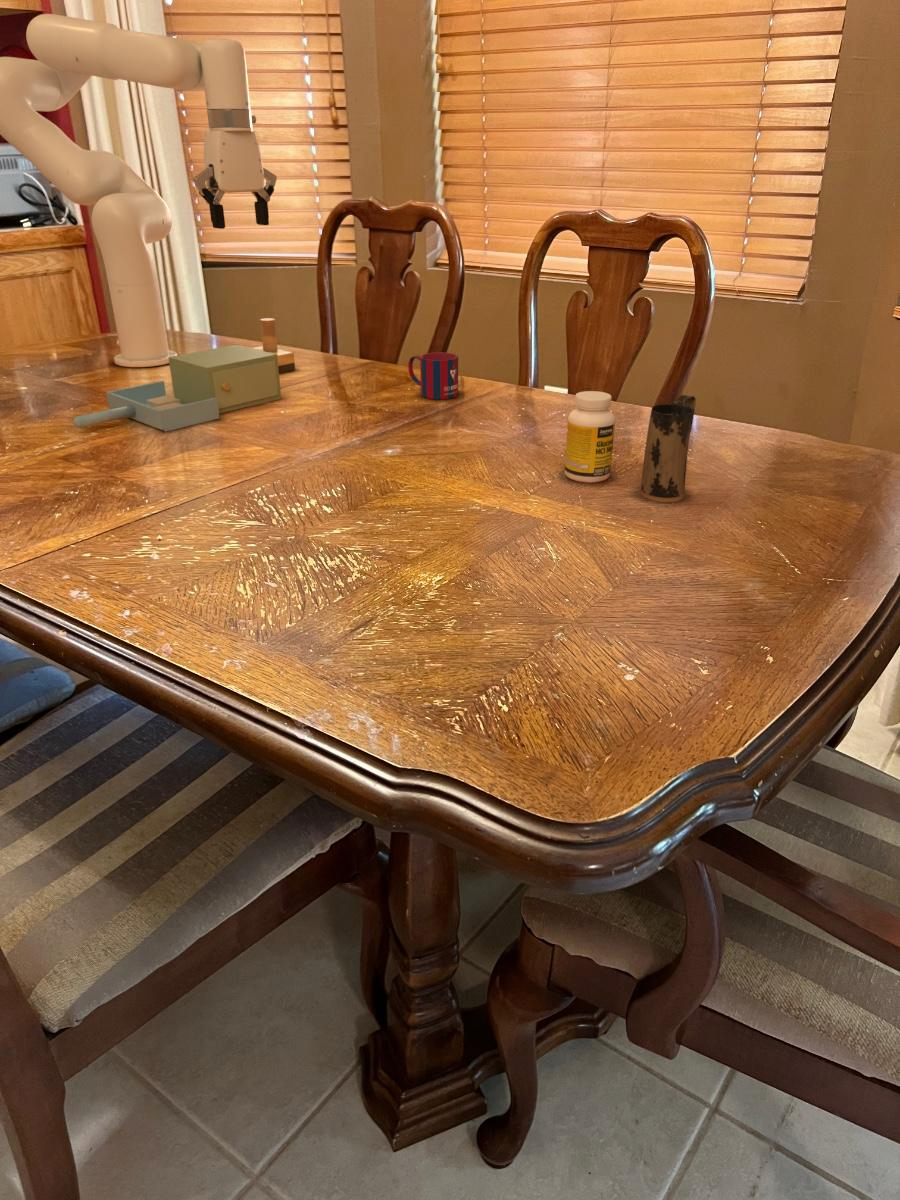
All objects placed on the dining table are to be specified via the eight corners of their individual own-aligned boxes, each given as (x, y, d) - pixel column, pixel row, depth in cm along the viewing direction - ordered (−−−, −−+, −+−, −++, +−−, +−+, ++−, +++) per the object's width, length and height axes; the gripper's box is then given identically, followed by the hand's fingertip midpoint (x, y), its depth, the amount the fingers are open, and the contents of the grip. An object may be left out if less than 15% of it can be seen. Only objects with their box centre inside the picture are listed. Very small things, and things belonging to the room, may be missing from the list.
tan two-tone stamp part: (249, 365, 175) (243, 317, 170) (265, 362, 178) (260, 314, 173) (279, 373, 169) (274, 323, 164) (295, 370, 171) (291, 321, 167)
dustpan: (165, 400, 152) (162, 380, 150) (219, 418, 142) (217, 398, 140) (52, 424, 139) (47, 403, 137) (102, 446, 128) (98, 424, 127)
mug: (670, 505, 107) (682, 410, 101) (631, 495, 110) (641, 402, 104) (699, 488, 112) (712, 397, 107) (661, 479, 115) (672, 390, 110)
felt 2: (175, 402, 143) (176, 411, 144) (153, 407, 141) (154, 416, 141) (188, 406, 141) (189, 415, 142) (166, 411, 138) (167, 420, 139)
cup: (440, 401, 150) (440, 362, 147) (400, 392, 156) (398, 354, 153) (465, 394, 155) (465, 355, 151) (425, 385, 161) (424, 348, 157)
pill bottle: (599, 487, 113) (606, 404, 108) (556, 478, 116) (561, 397, 110) (617, 473, 117) (624, 393, 112) (575, 465, 120) (581, 386, 115)
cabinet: (175, 402, 151) (168, 357, 147) (242, 387, 160) (237, 344, 156) (217, 416, 143) (211, 369, 139) (285, 400, 152) (281, 355, 148)
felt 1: (167, 395, 147) (168, 404, 148) (146, 399, 145) (147, 408, 145) (179, 399, 145) (181, 408, 146) (158, 404, 142) (159, 413, 143)
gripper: (258, 123, 161) (267, 222, 169) (175, 121, 150) (189, 228, 158) (282, 122, 156) (290, 224, 164) (199, 121, 145) (212, 230, 153)
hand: (241, 226), depth 161 cm, fingers open, 9 cm apart
